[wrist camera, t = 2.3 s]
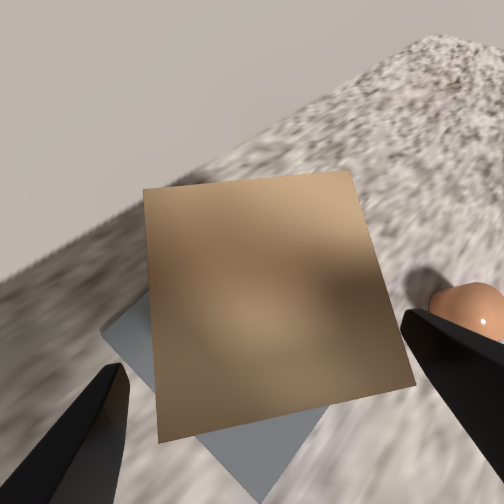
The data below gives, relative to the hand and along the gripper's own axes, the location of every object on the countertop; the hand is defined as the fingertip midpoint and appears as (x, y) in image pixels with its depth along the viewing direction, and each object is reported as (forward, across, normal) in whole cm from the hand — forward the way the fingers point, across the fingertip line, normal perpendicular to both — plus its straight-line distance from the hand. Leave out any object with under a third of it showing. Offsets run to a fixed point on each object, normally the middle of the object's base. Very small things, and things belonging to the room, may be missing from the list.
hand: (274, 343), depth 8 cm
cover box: (+8, 0, +5) cm, 9 cm away
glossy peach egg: (+6, -15, +7) cm, 18 cm away
